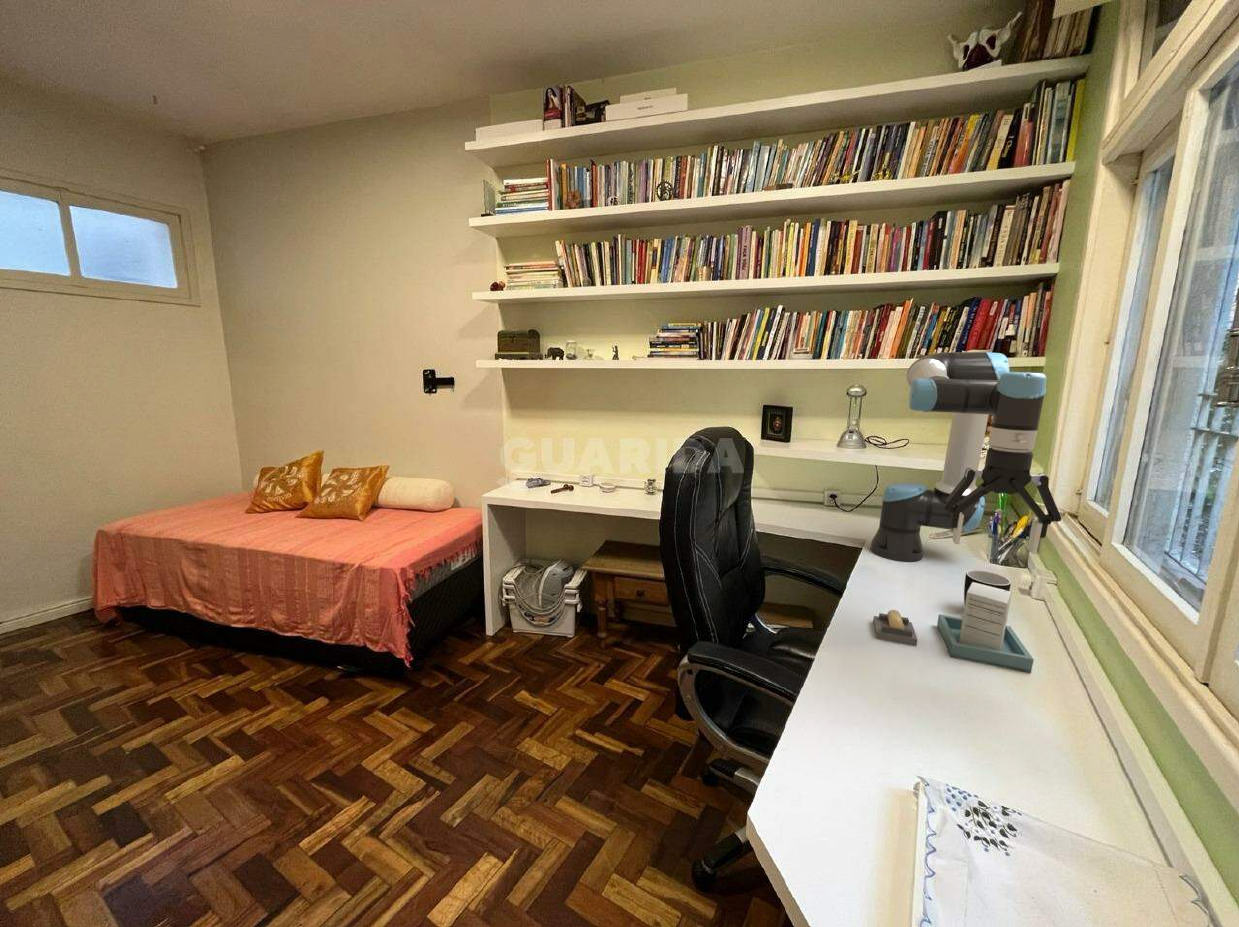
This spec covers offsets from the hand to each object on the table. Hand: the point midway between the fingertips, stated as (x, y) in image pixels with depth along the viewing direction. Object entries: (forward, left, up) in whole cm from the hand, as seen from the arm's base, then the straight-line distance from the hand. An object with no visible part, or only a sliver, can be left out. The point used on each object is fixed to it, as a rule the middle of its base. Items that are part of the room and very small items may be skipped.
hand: (992, 546), depth 107 cm
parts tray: (+1, 0, -23) cm, 23 cm away
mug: (-18, +5, -23) cm, 30 cm away
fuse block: (+2, -17, -23) cm, 28 cm away
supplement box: (+1, 0, -23) cm, 23 cm away
